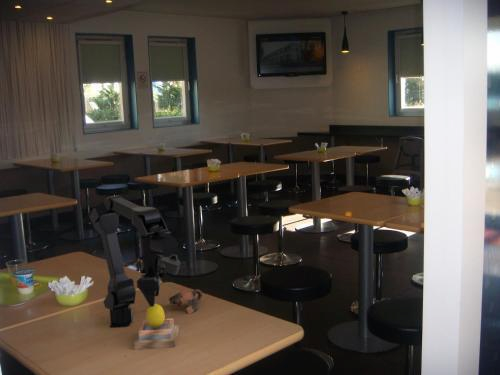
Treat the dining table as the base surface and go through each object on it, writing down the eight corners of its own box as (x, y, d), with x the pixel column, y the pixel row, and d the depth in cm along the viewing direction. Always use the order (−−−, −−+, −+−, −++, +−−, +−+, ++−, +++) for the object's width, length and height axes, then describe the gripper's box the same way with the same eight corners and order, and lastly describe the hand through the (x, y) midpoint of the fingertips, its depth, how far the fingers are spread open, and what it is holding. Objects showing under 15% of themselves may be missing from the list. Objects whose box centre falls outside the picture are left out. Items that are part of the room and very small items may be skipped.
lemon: (161, 332, 170) (159, 307, 169) (144, 332, 172) (142, 306, 170) (168, 325, 176) (166, 300, 175) (151, 324, 177) (149, 300, 176)
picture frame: (134, 349, 168) (133, 334, 167) (141, 333, 180) (139, 318, 179) (175, 346, 168) (173, 331, 168) (179, 330, 180) (178, 316, 179)
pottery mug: (182, 318, 192) (170, 297, 193) (174, 322, 200) (162, 301, 201) (211, 301, 198) (199, 280, 199) (201, 305, 206) (190, 285, 207)
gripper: (173, 257, 161) (178, 310, 163) (180, 241, 179) (184, 289, 182) (134, 259, 161) (139, 312, 163) (145, 243, 179) (149, 291, 181)
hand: (154, 301), depth 172 cm, fingers open, 9 cm apart
